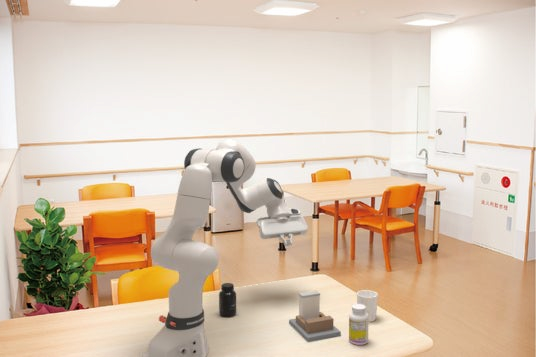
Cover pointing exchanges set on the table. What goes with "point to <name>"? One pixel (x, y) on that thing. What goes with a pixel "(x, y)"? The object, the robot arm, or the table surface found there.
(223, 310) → the supplement bottle
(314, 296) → the push key
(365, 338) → the supplement bottle
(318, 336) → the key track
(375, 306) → the white cup
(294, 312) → the table surface
